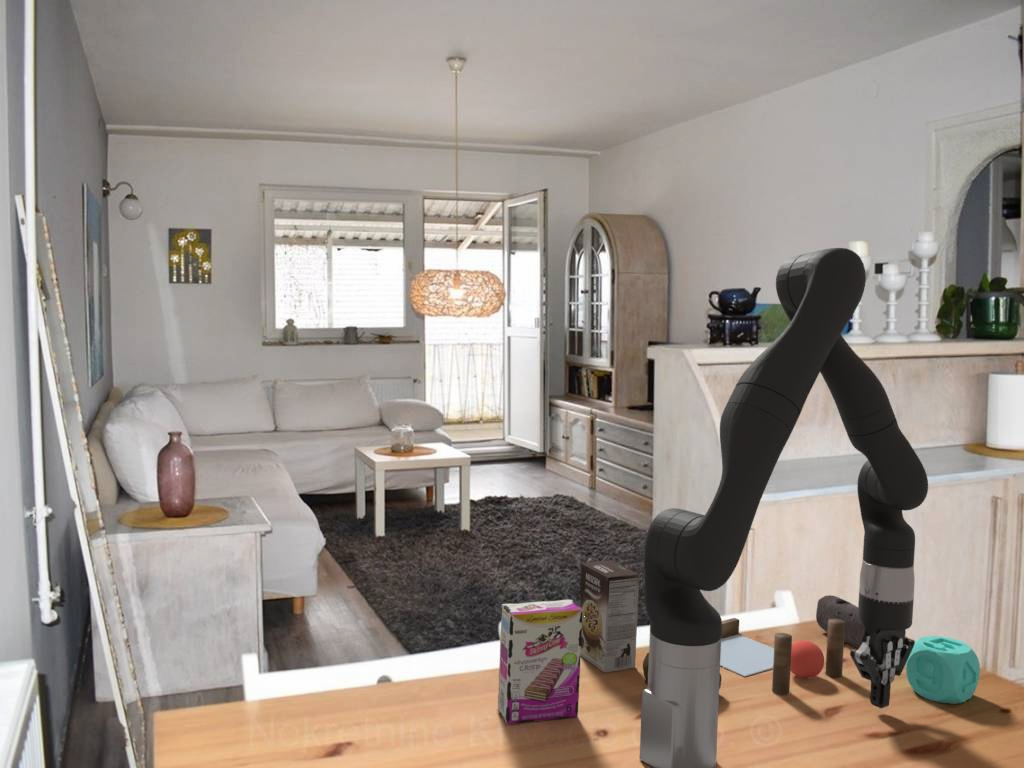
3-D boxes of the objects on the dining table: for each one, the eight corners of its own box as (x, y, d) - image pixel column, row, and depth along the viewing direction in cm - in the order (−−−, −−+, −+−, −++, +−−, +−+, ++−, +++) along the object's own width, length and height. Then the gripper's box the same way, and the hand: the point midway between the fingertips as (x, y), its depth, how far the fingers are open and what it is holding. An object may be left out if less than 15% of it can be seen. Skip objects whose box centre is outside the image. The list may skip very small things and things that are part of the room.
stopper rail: (675, 649, 164) (676, 635, 164) (670, 647, 165) (671, 633, 165) (738, 632, 173) (739, 619, 173) (733, 630, 174) (734, 617, 174)
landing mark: (744, 677, 152) (744, 675, 152) (683, 649, 164) (683, 648, 164) (800, 660, 160) (800, 659, 160) (738, 635, 172) (738, 634, 172)
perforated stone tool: (892, 656, 163) (894, 617, 162) (867, 659, 161) (869, 620, 161) (835, 628, 177) (837, 592, 177) (812, 630, 175) (814, 594, 175)
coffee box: (576, 654, 161) (579, 562, 159) (608, 649, 163) (611, 558, 162) (603, 673, 152) (606, 576, 151) (637, 668, 155) (640, 572, 154)
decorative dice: (978, 696, 147) (981, 646, 146) (953, 709, 142) (957, 658, 141) (929, 679, 153) (932, 632, 152) (903, 691, 148) (906, 642, 147)
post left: (781, 696, 145) (784, 639, 144) (768, 690, 147) (771, 634, 146) (792, 692, 146) (795, 636, 146) (779, 687, 149) (782, 631, 148)
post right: (835, 679, 152) (838, 625, 151) (822, 673, 154) (824, 620, 154) (845, 675, 154) (848, 622, 153) (832, 670, 156) (834, 617, 155)
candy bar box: (507, 727, 132) (509, 614, 131) (497, 712, 137) (499, 603, 136) (580, 718, 136) (583, 607, 134) (568, 703, 141) (571, 597, 139)
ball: (796, 690, 151) (816, 669, 147) (772, 659, 154) (791, 638, 151) (817, 679, 154) (838, 659, 151) (793, 649, 158) (813, 629, 154)
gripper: (881, 606, 131) (874, 725, 133) (935, 591, 139) (928, 704, 140) (836, 592, 137) (830, 706, 139) (890, 579, 145) (884, 687, 146)
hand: (879, 705), depth 140 cm, fingers closed
